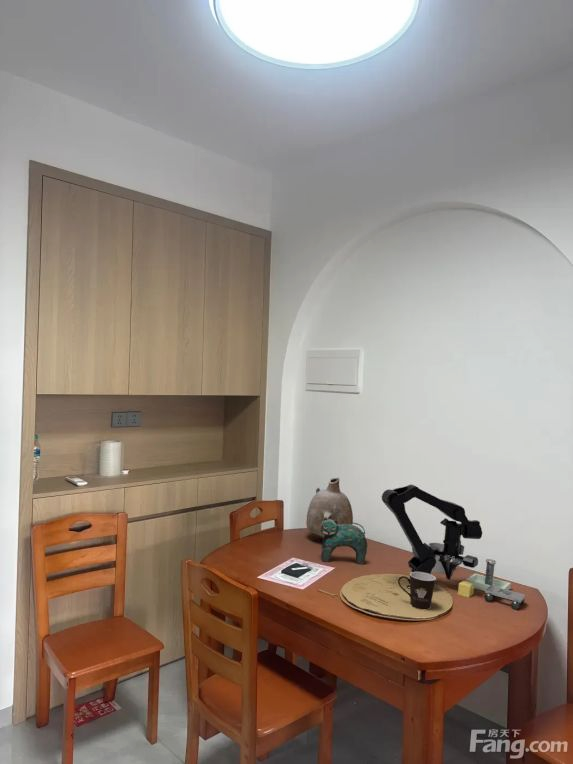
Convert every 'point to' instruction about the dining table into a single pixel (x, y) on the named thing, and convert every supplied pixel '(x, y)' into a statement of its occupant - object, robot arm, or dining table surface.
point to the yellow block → (466, 588)
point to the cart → (505, 595)
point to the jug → (328, 507)
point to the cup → (438, 567)
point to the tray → (480, 584)
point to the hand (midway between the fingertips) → (448, 579)
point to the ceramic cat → (342, 539)
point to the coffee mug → (420, 589)
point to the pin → (489, 571)
